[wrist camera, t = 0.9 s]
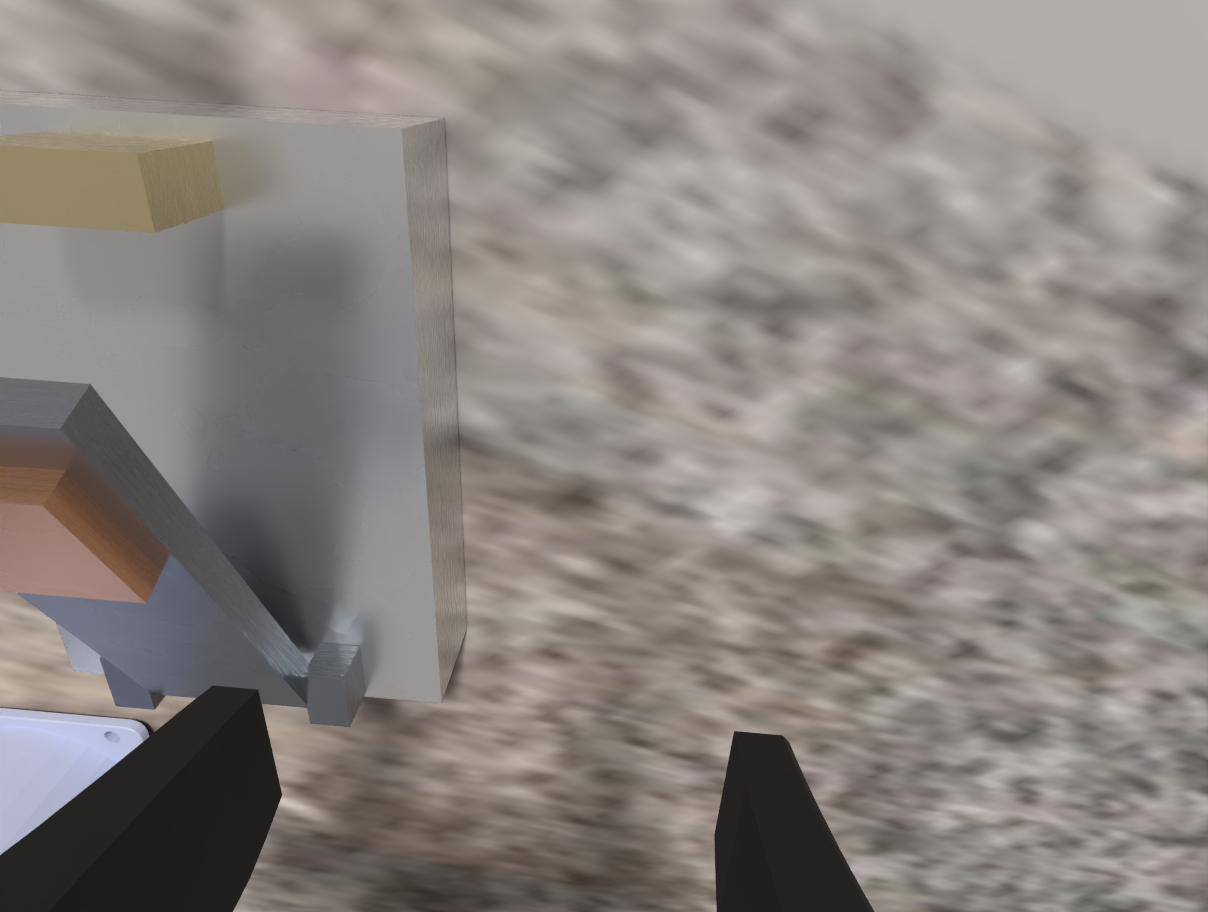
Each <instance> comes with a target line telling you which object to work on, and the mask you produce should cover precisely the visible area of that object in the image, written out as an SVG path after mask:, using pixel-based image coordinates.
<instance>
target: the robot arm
mask: <svg viewBox="0 0 1208 912" xmlns="http://www.w3.org/2000/svg"><path fill="white" fill-rule="evenodd" d="M281 797H282V793H281V788H280V784H279V779H278V775H277V770H276V766H275V762H274V757H273V753H272V748H271V744H270V739H269V735H268V731H267V726H266V722H265V717H264V713H263V708H262V704H261V700H260V695H259V691H258V689H247V688H236V687H224V686H211V687H210V688H209V689H208V690H206V691H205V692H204V693H203V694H201V695H200V696H199V697H197V698H196V699H195V700H194V701H193V702H191V703H190V704H189V705H188V706H186V707H185V708H184V709H183V710H181V711H180V712H179V713H178V714H176V715H175V716H174V717H173V718H172V719H170V720H169V721H168V722H167V723H165V724H164V725H163V726H162V727H160V728H159V729H158V730H157V731H156V732H154V733H153V734H152V735H151V736H149V733H148V731H147V729H146V727H145V726H144V725H143V724H142V723H140V722H138V721H136V720H131V719H121V718H109V717H98V716H87V715H76V714H65V713H54V712H42V711H31V710H20V709H9V708H0V912H233V910H234V908H235V906H236V904H237V902H238V901H239V899H240V897H241V895H242V893H243V891H244V889H245V887H246V885H247V883H248V881H249V879H250V877H251V874H252V872H253V869H254V867H255V864H256V862H257V859H258V857H259V854H260V852H261V849H262V847H263V844H264V842H265V839H266V837H267V834H268V831H269V829H270V826H271V823H272V821H273V818H274V815H275V813H276V810H277V807H278V805H279V802H280V799H281ZM715 871H716V901H717V912H874V910H873V909H872V907H871V905H870V903H869V902H868V900H867V898H866V896H865V894H864V893H863V891H862V889H861V887H860V885H859V884H858V882H857V880H856V878H855V876H854V875H853V873H852V871H851V869H850V867H849V866H848V864H847V862H846V860H845V858H844V856H843V854H842V852H841V850H840V849H839V847H838V845H837V843H836V841H835V839H834V837H833V835H832V833H831V831H830V829H829V827H828V825H827V823H826V821H825V819H824V817H823V815H822V813H821V811H820V809H819V807H818V805H817V803H816V801H815V799H814V797H813V795H812V793H811V791H810V788H809V786H808V784H807V782H806V780H805V778H804V775H803V773H802V771H801V769H800V767H799V764H798V762H797V760H796V758H795V755H794V753H793V751H792V748H791V746H790V743H789V742H788V741H787V740H786V739H785V738H784V737H783V736H782V735H771V734H760V733H748V732H737V731H734V735H733V740H732V746H731V751H730V756H729V762H728V767H727V772H726V777H725V783H724V788H723V793H722V798H721V804H720V809H719V814H718V819H717V825H716V830H715Z"/></svg>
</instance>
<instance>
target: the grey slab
mask: <svg viewBox="0 0 1208 912" xmlns="http://www.w3.org/2000/svg"><path fill="white" fill-rule="evenodd" d="M0 591H4V592H16V593H17V594H19V595H20V596H21V597H23V598H24V599H25V600H27V601H28V602H29V603H31V604H32V605H33V606H35V607H36V608H37V609H39V610H40V611H41V612H43V613H44V614H45V615H47V616H48V617H50V618H51V619H52V620H54V621H55V622H56V623H58V624H59V625H60V626H62V627H63V628H64V629H66V630H67V631H68V632H70V633H71V634H72V635H74V636H75V637H76V638H78V639H79V640H80V641H82V642H83V643H84V644H86V645H87V646H88V647H90V648H91V649H92V650H94V651H95V652H96V653H98V654H99V655H100V656H102V657H103V658H105V659H106V660H107V661H109V662H110V663H111V664H113V665H114V666H115V667H117V668H118V669H119V670H121V671H122V672H123V673H125V674H126V675H127V676H129V677H130V678H131V679H133V680H134V681H135V682H137V683H138V684H139V685H141V686H142V687H143V688H145V689H146V690H147V691H149V692H150V693H151V694H157V695H169V696H180V697H191V698H197V697H199V696H200V695H201V694H203V693H204V692H205V691H206V690H208V689H209V688H210V687H211V686H224V687H236V688H247V689H258V691H259V695H260V700H261V704H271V705H282V706H293V707H305V708H307V702H306V697H305V692H304V686H303V681H302V675H303V673H304V671H305V669H306V668H307V666H308V664H309V663H308V662H307V660H306V659H305V658H304V657H303V655H302V654H301V653H300V651H299V650H298V649H297V648H296V646H295V645H294V644H293V642H292V641H291V640H290V639H289V637H288V636H287V635H286V634H285V632H284V631H283V630H282V628H281V627H280V626H279V625H278V623H277V622H276V621H275V619H274V618H273V617H272V616H271V614H270V613H269V612H268V610H267V609H266V608H265V607H264V605H263V604H262V603H261V602H260V600H259V599H258V598H257V596H256V595H255V594H254V593H253V591H252V590H251V589H250V587H249V586H248V585H247V584H246V582H245V581H244V580H243V579H242V577H241V576H240V575H239V573H238V572H237V571H236V570H235V568H234V567H233V566H232V564H231V563H230V562H229V561H228V559H227V558H226V557H225V555H224V554H223V553H222V552H221V550H220V549H219V548H218V547H217V545H216V544H215V543H214V541H213V540H212V539H211V538H210V536H209V535H208V534H207V532H206V531H205V530H204V529H203V527H202V526H201V525H200V523H199V522H198V521H197V520H196V518H195V517H194V516H193V515H192V513H191V512H190V511H189V509H188V508H187V507H186V506H185V504H184V503H183V502H182V500H181V499H180V498H179V497H178V495H177V494H176V493H175V492H174V490H173V489H172V488H171V486H170V485H169V484H168V483H167V481H166V480H165V479H164V477H163V476H162V475H161V474H160V472H159V471H158V470H157V468H156V467H155V466H154V465H153V463H152V462H151V461H150V460H149V458H148V457H147V456H146V454H145V453H144V452H143V451H142V449H141V448H140V447H139V445H138V444H137V443H136V442H135V440H134V439H133V438H132V437H131V435H130V434H129V433H128V431H127V430H126V429H125V428H124V426H123V425H122V424H121V422H120V421H119V420H118V419H117V417H116V416H115V415H114V413H113V412H112V411H111V410H110V408H109V407H108V406H107V405H106V403H105V402H104V401H103V399H102V398H101V397H100V396H99V394H98V393H97V392H96V390H95V389H94V388H93V387H92V385H91V384H85V383H71V382H58V381H45V380H31V379H18V378H5V377H0Z"/></svg>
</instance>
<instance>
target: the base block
mask: <svg viewBox="0 0 1208 912" xmlns="http://www.w3.org/2000/svg"><path fill="white" fill-rule="evenodd" d="M0 377H5V378H18V379H31V380H45V381H58V382H71V383H85V384H91V385H92V387H93V388H94V389H95V390H96V392H97V393H98V394H99V396H100V397H101V398H102V399H103V401H104V402H105V403H106V405H107V406H108V407H109V408H110V410H111V411H112V412H113V413H114V415H115V416H116V417H117V419H118V420H119V421H120V422H121V424H122V425H123V426H124V428H125V429H126V430H127V431H128V433H129V434H130V435H131V437H132V438H133V439H134V440H135V442H136V443H137V444H138V445H139V447H140V448H141V449H142V451H143V452H144V453H145V454H146V456H147V457H148V458H149V460H150V461H151V462H152V463H153V465H154V466H155V467H156V468H157V470H158V471H159V472H160V474H161V475H162V476H163V477H164V479H165V480H166V481H167V483H168V484H169V485H170V486H171V488H172V489H173V490H174V492H175V493H176V494H177V495H178V497H179V498H180V499H181V500H182V502H183V503H184V504H185V506H186V507H187V508H188V509H189V511H190V512H191V513H192V515H193V516H194V517H195V518H196V520H197V521H198V522H199V523H200V525H201V526H202V527H203V529H204V530H205V531H206V532H207V534H208V535H209V536H210V538H211V539H212V540H213V541H214V543H215V544H216V545H217V547H218V548H219V549H220V550H221V552H222V553H223V554H224V555H225V557H226V558H227V559H228V561H229V562H230V563H231V564H232V566H233V567H234V568H235V570H236V571H237V572H238V573H239V575H240V576H241V577H242V579H243V580H244V581H245V582H246V584H247V585H248V586H249V587H250V589H251V590H252V591H253V593H254V594H255V595H256V596H257V598H258V599H259V600H260V602H261V603H262V604H263V605H264V607H265V608H266V609H267V610H268V612H269V613H270V614H271V616H272V617H273V618H274V619H275V621H276V622H277V623H278V625H279V626H280V627H281V628H282V630H283V631H284V632H285V634H286V635H287V636H288V637H289V639H290V640H291V641H292V642H293V644H294V645H295V646H296V648H297V649H298V650H299V651H300V653H301V654H302V655H303V657H304V658H305V659H306V660H307V662H308V663H309V664H308V666H307V668H306V669H305V671H304V673H303V675H302V681H303V686H304V692H305V697H306V702H307V708H308V713H309V718H310V724H322V725H333V726H344V727H350V725H351V723H352V721H353V719H354V717H355V715H356V712H357V710H358V708H359V706H360V704H361V702H362V699H363V697H375V698H386V699H398V700H409V701H421V702H432V703H442V700H443V697H444V694H445V691H446V688H447V685H448V682H449V679H450V677H451V674H452V671H453V668H454V665H455V662H456V659H457V656H458V653H459V650H460V647H461V644H462V641H463V638H464V635H465V632H466V629H467V615H466V592H465V570H464V547H463V524H462V502H461V479H460V456H459V434H458V411H457V388H456V366H455V343H454V320H453V298H452V275H451V252H450V230H449V207H448V185H447V162H446V139H445V118H436V117H420V116H404V115H388V114H372V113H356V112H340V111H324V110H308V109H292V108H276V107H260V106H244V105H228V104H212V103H195V102H179V101H163V100H147V99H131V98H115V97H99V96H83V95H67V94H51V93H35V92H19V91H3V90H0ZM56 624H57V627H58V630H59V632H60V635H61V638H62V640H63V643H64V645H65V648H66V651H67V653H68V656H69V659H70V661H71V664H72V667H73V669H74V671H78V672H90V673H101V674H105V676H106V679H107V682H108V685H109V688H110V690H111V693H112V696H113V699H114V702H115V705H116V706H119V707H131V708H142V709H153V710H155V709H156V707H157V706H158V705H159V703H160V702H161V701H162V700H163V698H164V697H165V696H166V695H157V694H151V693H150V692H149V691H147V690H146V689H145V688H143V687H142V686H141V685H139V684H138V683H137V682H135V681H134V680H133V679H131V678H130V677H129V676H127V675H126V674H125V673H123V672H122V671H121V670H119V669H118V668H117V667H115V666H114V665H113V664H111V663H110V662H109V661H107V660H106V659H105V658H103V657H102V656H100V655H99V654H98V653H96V652H95V651H94V650H92V649H91V648H90V647H88V646H87V645H86V644H84V643H83V642H82V641H80V640H79V639H78V638H76V637H75V636H74V635H72V634H71V633H70V632H68V631H67V630H66V629H64V628H63V627H62V626H60V625H59V624H58V623H56Z"/></svg>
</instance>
